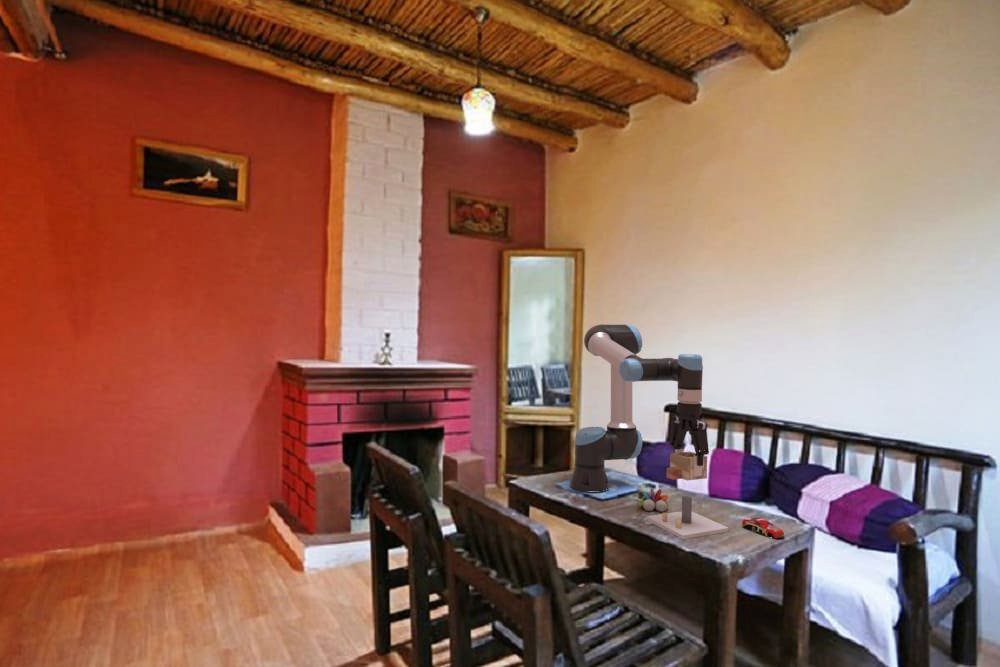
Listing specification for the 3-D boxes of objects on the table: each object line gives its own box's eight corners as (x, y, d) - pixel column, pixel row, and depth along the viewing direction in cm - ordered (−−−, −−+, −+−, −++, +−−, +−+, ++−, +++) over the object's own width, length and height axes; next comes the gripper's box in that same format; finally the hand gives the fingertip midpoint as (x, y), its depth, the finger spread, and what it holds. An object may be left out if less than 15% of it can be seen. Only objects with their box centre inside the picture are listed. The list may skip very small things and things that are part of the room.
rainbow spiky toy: (669, 514, 195) (670, 493, 195) (640, 511, 197) (641, 491, 197) (667, 506, 203) (667, 486, 203) (639, 504, 205) (639, 484, 205)
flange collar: (689, 472, 188) (689, 451, 188) (706, 478, 181) (707, 456, 181) (661, 475, 184) (661, 453, 184) (678, 481, 177) (678, 459, 177)
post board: (646, 519, 188) (646, 492, 188) (689, 513, 195) (689, 487, 195) (683, 539, 171) (683, 509, 171) (728, 531, 178) (729, 502, 178)
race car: (788, 539, 174) (788, 526, 174) (776, 542, 171) (776, 529, 171) (750, 525, 186) (751, 512, 185) (739, 527, 183) (739, 515, 183)
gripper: (658, 398, 191) (657, 465, 191) (703, 407, 172) (702, 481, 172) (676, 397, 194) (675, 463, 194) (722, 405, 175) (721, 479, 175)
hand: (688, 472), depth 183 cm, fingers closed on flange collar, 8 cm apart
